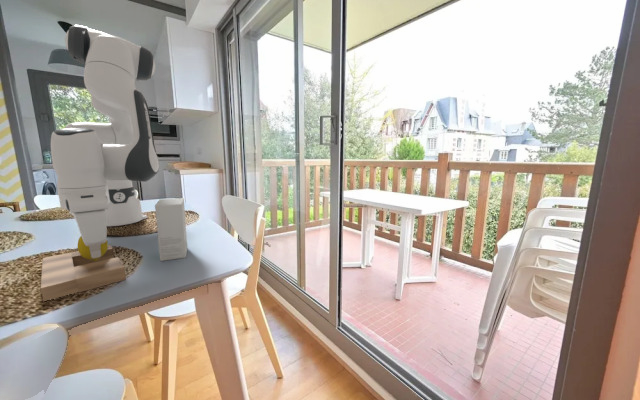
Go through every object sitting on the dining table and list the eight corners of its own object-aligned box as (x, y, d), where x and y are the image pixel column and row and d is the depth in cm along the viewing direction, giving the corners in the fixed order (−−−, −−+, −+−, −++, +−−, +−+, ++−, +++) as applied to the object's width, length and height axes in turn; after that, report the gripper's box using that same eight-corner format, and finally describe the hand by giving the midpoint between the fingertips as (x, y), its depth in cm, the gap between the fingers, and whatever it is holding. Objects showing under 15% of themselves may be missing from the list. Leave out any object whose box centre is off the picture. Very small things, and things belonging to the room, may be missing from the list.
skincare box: (164, 250, 76) (158, 199, 73) (189, 247, 79) (184, 197, 76) (159, 261, 68) (153, 204, 66) (187, 258, 71) (182, 202, 68)
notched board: (45, 269, 64) (42, 257, 63) (111, 254, 73) (110, 244, 72) (43, 302, 50) (40, 288, 49) (126, 279, 59) (124, 267, 59)
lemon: (92, 266, 61) (87, 233, 60) (74, 264, 62) (68, 232, 61) (115, 257, 66) (110, 227, 65) (98, 255, 67) (93, 226, 66)
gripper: (65, 194, 66) (74, 245, 69) (69, 206, 52) (80, 270, 55) (97, 191, 71) (104, 239, 73) (109, 202, 57) (117, 261, 59)
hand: (94, 252), depth 64 cm, fingers closed on lemon, 5 cm apart
